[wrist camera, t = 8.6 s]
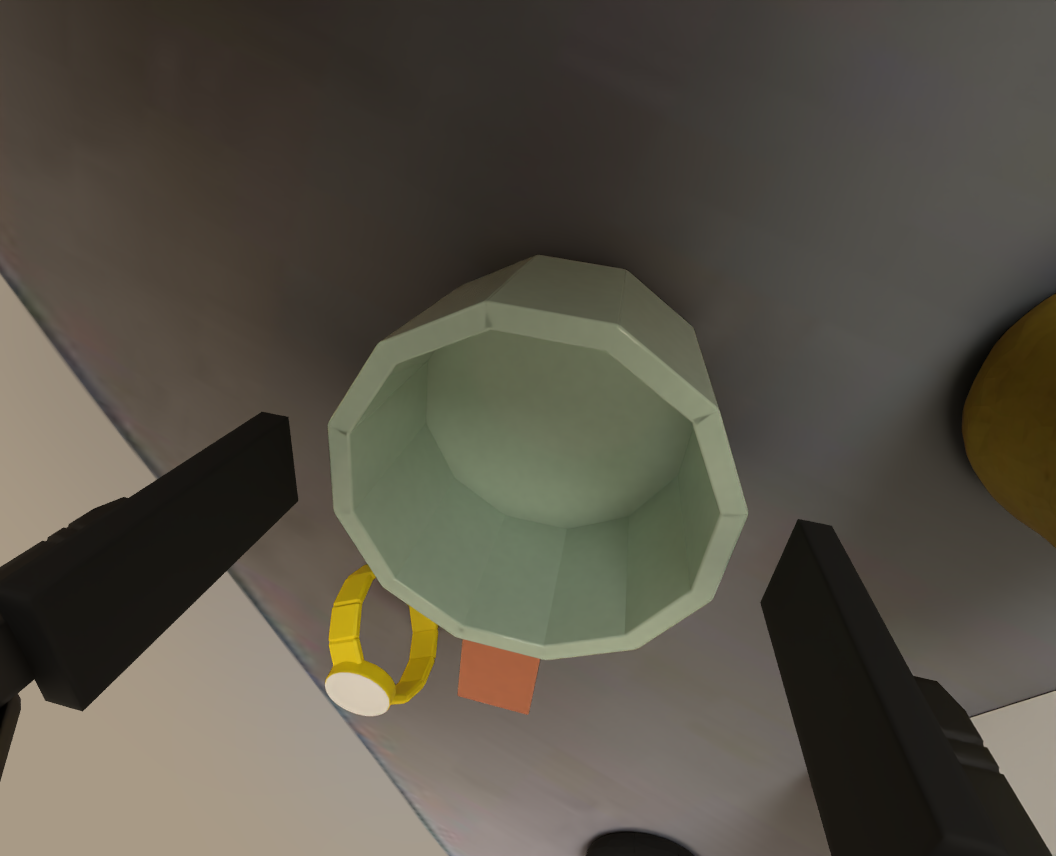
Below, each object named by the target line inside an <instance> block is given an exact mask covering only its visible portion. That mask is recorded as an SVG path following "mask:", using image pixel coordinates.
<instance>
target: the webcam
mask: <svg viewBox="0 0 1056 856" xmlns="http://www.w3.org/2000/svg"><path fill="white" fill-rule="evenodd" d="M586 856H694V855H693V854H691V853H690V852H689V851H688V850H686V849H685V848H683V847H681V846H679V845H677V844H676V843H673V842H671V841H669V840H666V839H663V838H659V837H656V836H653V835H648V834H643V833H627V832H623V833H614V834H609V835H606V836H604V837H601V838H599V839H598V840H596V841H595V842H593V843H592V845H591V846H590V848H589V849H588V851H587V854H586Z"/></svg>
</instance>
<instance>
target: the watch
mask: <svg viewBox="0 0 1056 856" xmlns="http://www.w3.org/2000/svg"><path fill="white" fill-rule="evenodd" d="M375 578H376V577H375V575H374V574H373V572H372V570H371V569H370V567H369V566H368V564H366V565H364V566H362V567H361V568H359V569H358V570H357V571H355V572H354V573H352V574H351V575H349V576H348V578H347V579H346V580H345V582H344V584H343V586H342V588H341V590H340V592H339V594H338V596H337V598H336V600H335V602H334V604H333V605H334V607H333V608H332V614H331V623H330V631H329V641H330V643H329V648H330V653H331V657H332V662H333V667H332V669H331V671H330V672H329V674H328V676H327V678H326V681H325V688H326V692H327V693H328V695H329V697H330V698H331V699H332V700H333V701H334V702H335V703H336V704H337V705H339V706H341V707H342V708H344V709H345V710H347V711H350V712H352V713H355V714H359V715H363V716H377V715H381V714H383V713H384V712H386V711H387V710H388V709H389V707H390V705H393V704H403V703H405V702H408V701H409V700H410V699H411V698H413V697H414V696H415V695H416V694H417V693H418V692H419V691H420V690H421V689H422V688H423V687H424V685H425V683H426V681H427V679H428V676H429V674H430V671H431V669H432V666H433V664H434V662H435V660H434V659H435V658H436V649H437V639H438V630H437V629H438V625H437V624H436V623H434V622H433V621H431V620H430V619H428V618H427V617H425V616H424V615H422V614H421V613H420V612H418V611H417V610H415V609H414V608H412V607H411V606H409V605H408V604H407V605H408V606H409V609H410V617H411V624H412V631H413V634H412V642H411V650H410V657H409V662H408V664H407V666H406V668H405V670H404V673H403V675H402V677H401V679H400V681H399V683H398V684H396V685H395V683H394V681H393V680H392V678H391V677H390V676H389V675H388V674H387V673H386V672H385V671H384V670H383V669H381V668H380V667H378V666H377V665H375V664H372V663H370V662H367V661H364V657H363V653H362V648H361V644H360V639H359V633H360V621H361V610H362V603H363V601H364V599H365V597H366V594H367V592H368V590H369V588H370V586H371V583H372V581H373V580H374V579H375Z"/></svg>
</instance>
